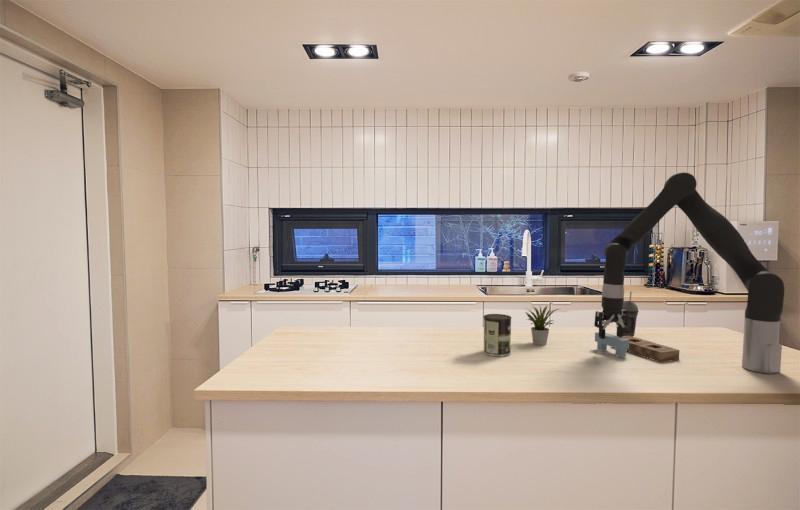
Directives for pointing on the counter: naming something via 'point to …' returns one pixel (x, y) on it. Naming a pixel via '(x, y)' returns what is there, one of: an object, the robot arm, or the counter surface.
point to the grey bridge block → (612, 343)
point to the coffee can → (497, 335)
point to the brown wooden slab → (651, 349)
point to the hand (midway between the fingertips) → (610, 337)
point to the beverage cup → (630, 317)
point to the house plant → (540, 326)
